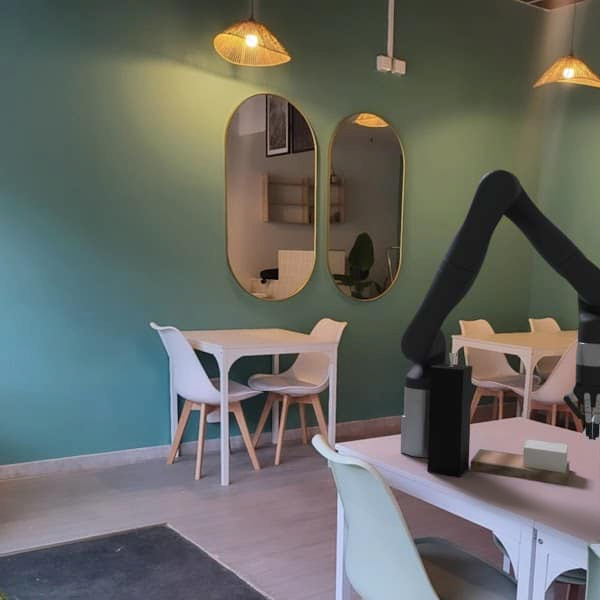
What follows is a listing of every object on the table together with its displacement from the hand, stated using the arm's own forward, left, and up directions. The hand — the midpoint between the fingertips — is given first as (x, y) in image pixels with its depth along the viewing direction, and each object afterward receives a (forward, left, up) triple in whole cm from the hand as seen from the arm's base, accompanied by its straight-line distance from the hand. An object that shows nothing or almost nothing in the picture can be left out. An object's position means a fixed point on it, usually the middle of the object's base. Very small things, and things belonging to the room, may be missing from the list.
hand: (592, 438), depth 135 cm
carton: (-10, 0, -8) cm, 12 cm away
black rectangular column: (-30, -9, -10) cm, 33 cm away
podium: (-15, 0, -10) cm, 18 cm away
